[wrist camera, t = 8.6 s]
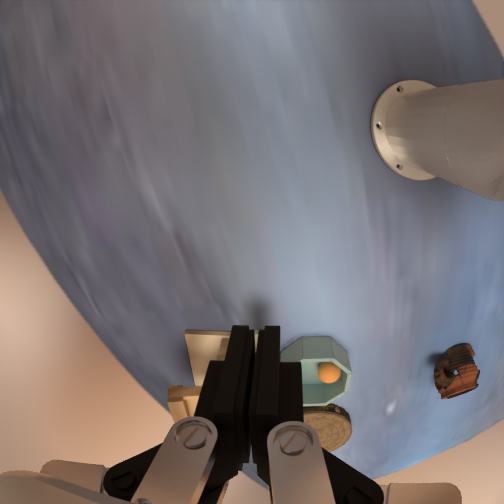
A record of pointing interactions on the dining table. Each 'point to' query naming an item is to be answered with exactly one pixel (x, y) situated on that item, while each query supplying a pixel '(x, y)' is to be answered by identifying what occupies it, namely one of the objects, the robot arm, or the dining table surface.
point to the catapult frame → (205, 350)
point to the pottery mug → (464, 365)
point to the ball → (329, 372)
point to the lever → (186, 397)
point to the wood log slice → (329, 425)
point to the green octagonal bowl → (311, 358)
